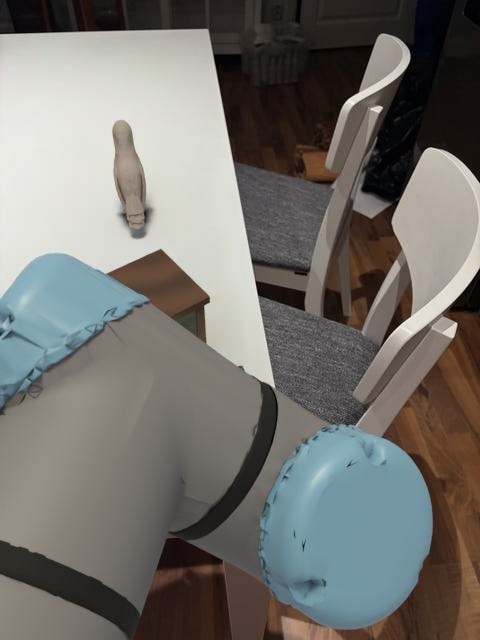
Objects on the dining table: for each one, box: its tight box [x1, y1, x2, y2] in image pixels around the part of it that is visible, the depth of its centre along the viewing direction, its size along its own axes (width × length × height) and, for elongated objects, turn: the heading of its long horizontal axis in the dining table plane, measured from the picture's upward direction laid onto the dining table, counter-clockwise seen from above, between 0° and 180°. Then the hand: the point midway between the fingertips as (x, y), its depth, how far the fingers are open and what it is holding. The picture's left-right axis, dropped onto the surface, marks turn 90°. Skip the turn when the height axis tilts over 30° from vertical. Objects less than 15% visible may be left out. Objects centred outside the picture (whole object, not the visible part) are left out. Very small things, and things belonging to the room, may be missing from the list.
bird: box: [111, 119, 149, 230], centre depth 84 cm, size 5×14×15 cm, turn 13°
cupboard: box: [105, 248, 211, 345], centre depth 61 cm, size 10×16×14 cm, turn 128°
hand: (132, 423), depth 53 cm, fingers open, 13 cm apart
